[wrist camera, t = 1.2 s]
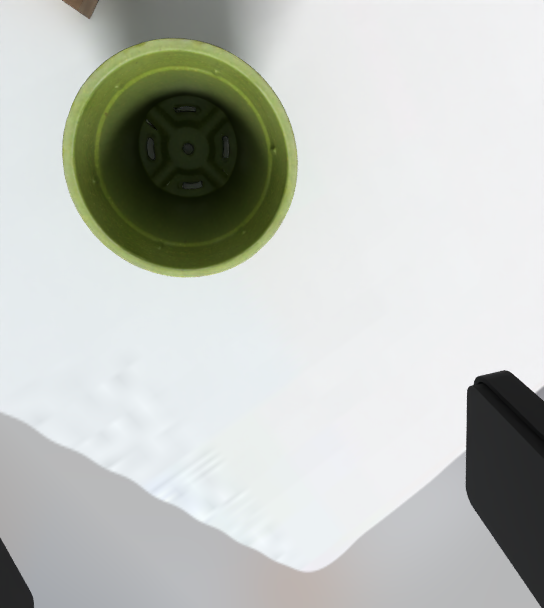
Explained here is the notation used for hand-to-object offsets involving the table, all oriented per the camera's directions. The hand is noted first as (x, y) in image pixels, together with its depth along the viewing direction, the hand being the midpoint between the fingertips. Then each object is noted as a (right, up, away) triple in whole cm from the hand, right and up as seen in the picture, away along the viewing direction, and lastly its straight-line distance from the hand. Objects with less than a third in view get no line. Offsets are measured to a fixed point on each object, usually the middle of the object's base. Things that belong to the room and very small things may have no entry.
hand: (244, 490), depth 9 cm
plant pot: (-6, +15, +26) cm, 30 cm away
